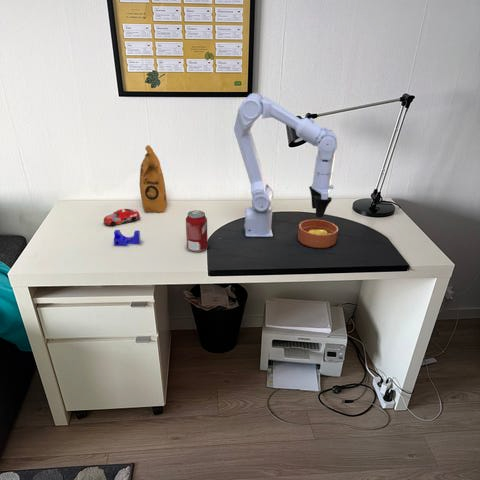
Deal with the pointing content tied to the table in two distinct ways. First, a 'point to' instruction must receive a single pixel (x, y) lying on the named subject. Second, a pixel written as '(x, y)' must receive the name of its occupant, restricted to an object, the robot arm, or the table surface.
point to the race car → (122, 217)
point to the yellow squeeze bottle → (319, 232)
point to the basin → (315, 239)
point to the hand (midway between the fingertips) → (317, 212)
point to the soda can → (196, 231)
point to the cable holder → (126, 238)
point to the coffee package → (152, 183)
